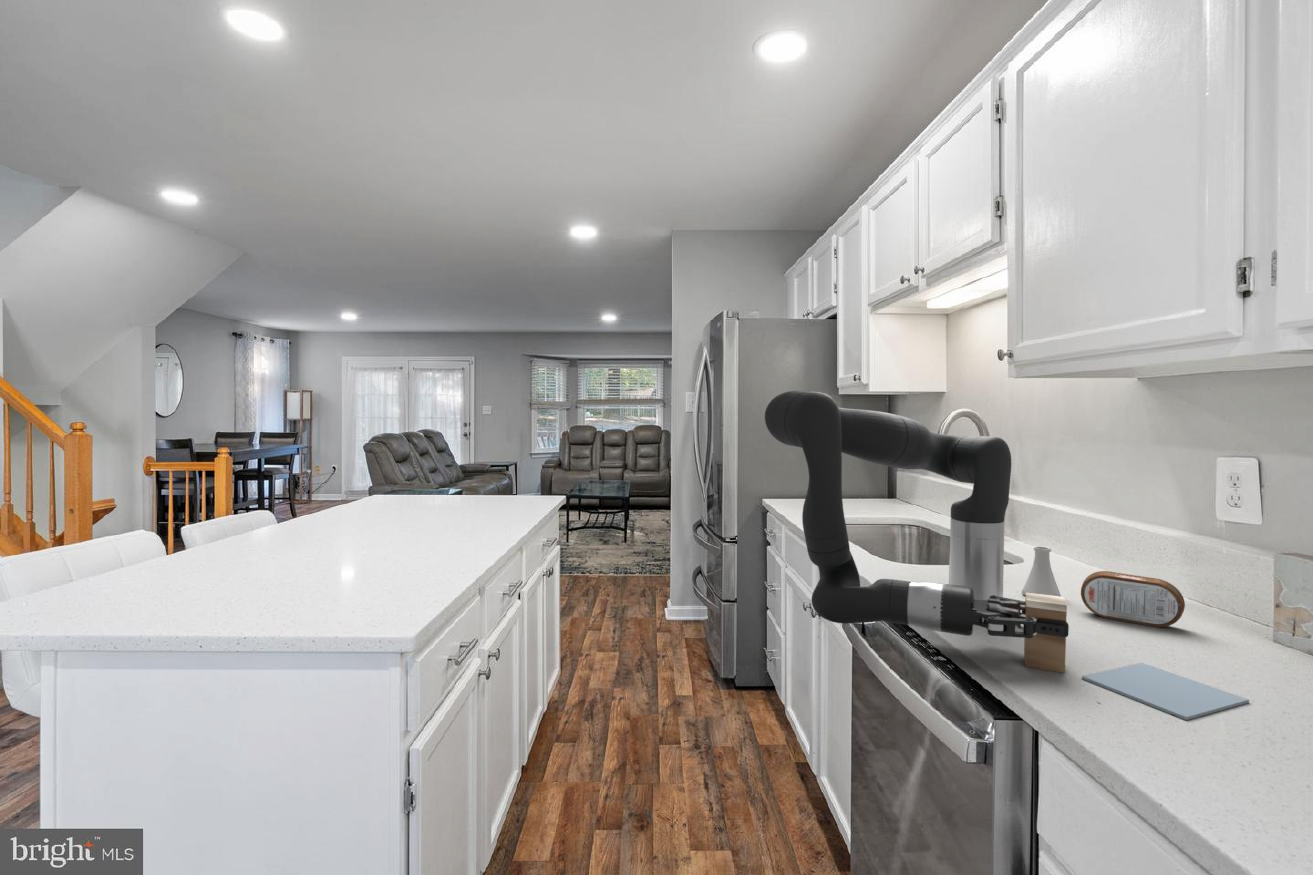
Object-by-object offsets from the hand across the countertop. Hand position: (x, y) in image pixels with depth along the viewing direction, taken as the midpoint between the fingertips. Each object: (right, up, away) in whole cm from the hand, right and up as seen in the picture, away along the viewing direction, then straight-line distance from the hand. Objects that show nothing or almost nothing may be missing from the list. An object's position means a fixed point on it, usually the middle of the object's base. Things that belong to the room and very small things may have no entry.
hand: (1066, 624), depth 93 cm
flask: (+19, -5, +37) cm, 42 cm away
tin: (+25, -6, +21) cm, 33 cm away
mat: (+8, -7, -7) cm, 13 cm away
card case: (-2, -6, +1) cm, 7 cm away
